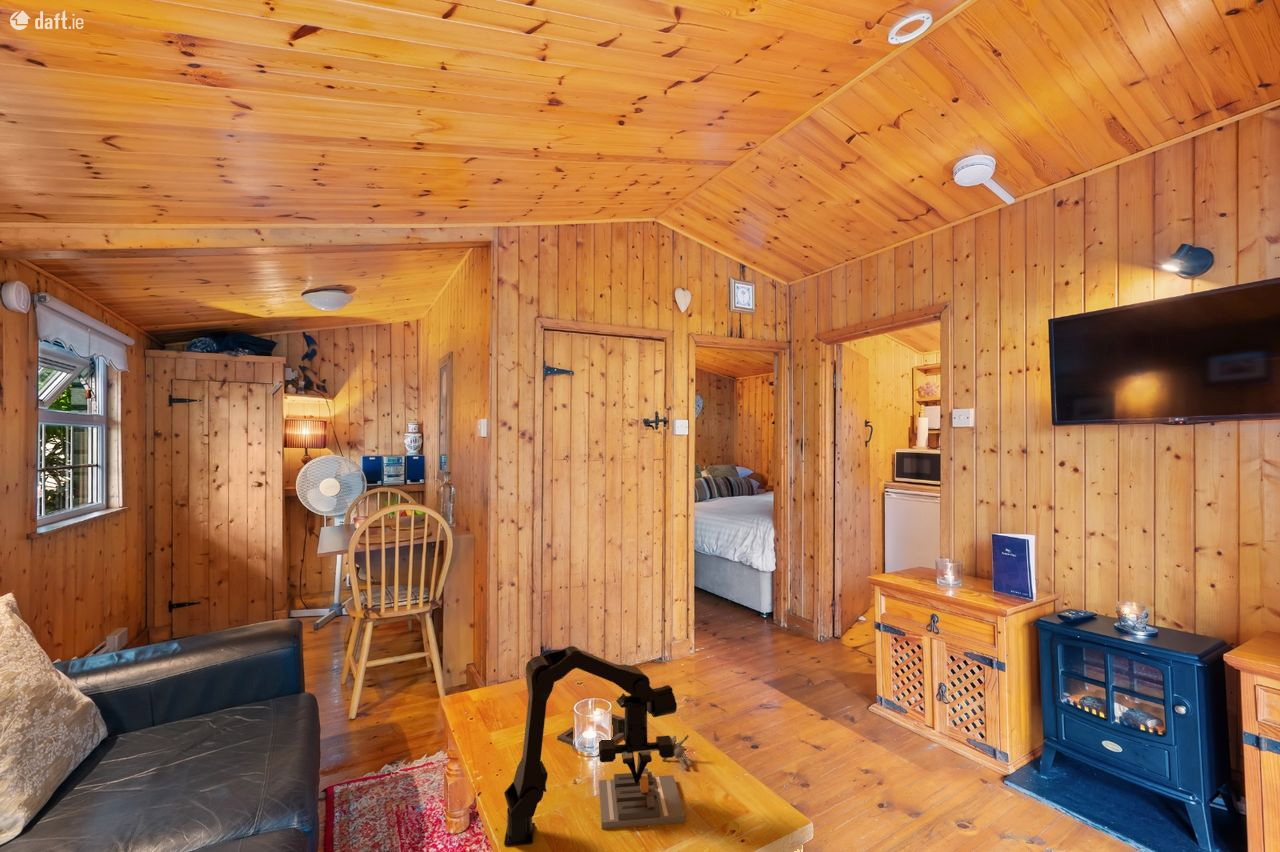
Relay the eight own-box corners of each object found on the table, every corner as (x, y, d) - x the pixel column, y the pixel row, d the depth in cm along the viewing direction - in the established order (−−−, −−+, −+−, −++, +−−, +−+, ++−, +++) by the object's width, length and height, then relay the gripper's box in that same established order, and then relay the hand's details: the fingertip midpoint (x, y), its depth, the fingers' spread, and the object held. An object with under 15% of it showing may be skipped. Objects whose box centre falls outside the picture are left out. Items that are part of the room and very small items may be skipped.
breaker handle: (648, 792, 145) (648, 779, 145) (641, 792, 145) (641, 779, 145) (647, 786, 147) (647, 773, 147) (640, 787, 147) (640, 774, 147)
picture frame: (597, 757, 168) (639, 728, 185) (597, 750, 168) (639, 721, 185) (557, 741, 177) (600, 714, 194) (557, 735, 177) (600, 708, 194)
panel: (685, 822, 138) (684, 803, 138) (601, 828, 136) (601, 809, 136) (673, 780, 155) (673, 763, 155) (599, 786, 153) (598, 768, 153)
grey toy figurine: (670, 776, 158) (653, 749, 165) (679, 783, 161) (662, 758, 168) (697, 749, 160) (679, 724, 167) (705, 757, 163) (688, 733, 170)
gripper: (667, 703, 155) (668, 762, 155) (597, 707, 153) (598, 767, 153) (674, 723, 144) (675, 787, 144) (599, 728, 142) (600, 792, 142)
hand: (636, 782), depth 146 cm, fingers closed
